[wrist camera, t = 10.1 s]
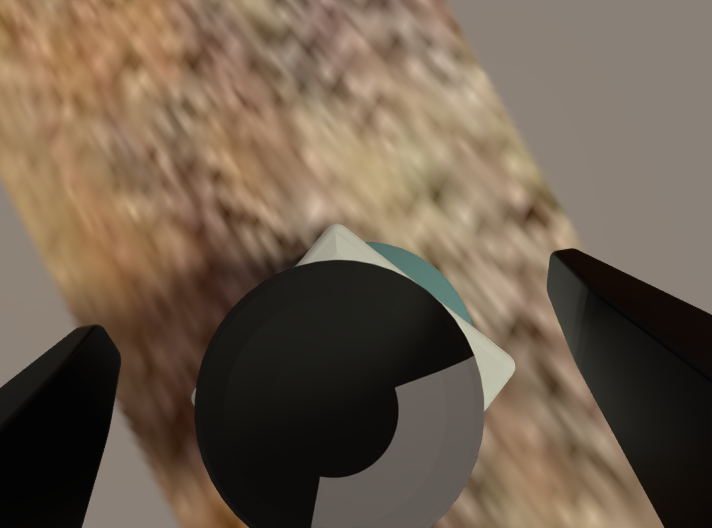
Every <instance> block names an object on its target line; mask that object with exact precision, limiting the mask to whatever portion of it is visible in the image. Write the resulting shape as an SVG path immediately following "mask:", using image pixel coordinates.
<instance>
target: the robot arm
mask: <svg viewBox="0 0 712 528" xmlns="http://www.w3.org/2000/svg"><path fill="white" fill-rule="evenodd" d="M547 292H548V296H549V298H550V301H551V303H552V306H553V308H554V311H555V313H556V316H557V319H558V321H559V324H560V326H561V329H562V331H563V334H564V336H565V339H566V341H567V344H568V346H569V349H570V351H571V354H572V356H573V358H574V361H575V363H576V365H577V367H578V369H579V371H580V373H581V375H582V376H583V378H584V380H585V382H586V384H587V386H588V387H589V389H590V391H591V393H592V395H593V397H594V398H595V400H596V402H597V404H598V406H599V408H600V410H601V411H602V413H603V415H604V417H605V419H606V421H607V422H608V424H609V426H610V428H611V430H612V432H613V434H614V435H615V437H616V439H617V441H618V443H619V445H620V446H621V448H622V450H623V452H624V454H625V456H626V458H627V459H628V461H629V463H630V465H631V467H632V469H633V470H634V472H635V474H636V476H637V478H638V480H639V482H640V483H641V485H642V487H643V489H644V491H645V493H646V494H647V496H648V498H649V500H650V502H651V504H652V506H653V507H654V509H655V511H656V513H657V515H658V517H659V518H660V520H661V522H662V524H663V526H664V528H712V315H711V314H709V313H707V312H705V311H703V310H701V309H699V308H697V307H695V306H693V305H691V304H689V303H687V302H684V301H682V300H680V299H678V298H676V297H674V296H672V295H670V294H668V293H666V292H664V291H662V290H659V289H658V288H656V287H653V286H651V285H649V284H647V283H645V282H643V281H641V280H638V279H637V278H635V277H633V276H631V275H628V274H626V273H624V272H622V271H620V270H618V269H616V268H614V267H612V266H610V265H608V264H606V263H604V262H602V261H600V260H597V259H596V258H594V257H591V256H589V255H587V254H585V253H583V252H581V251H579V250H577V249H574V248H570V249H564V250H558V251H554V252H553V253H552V254H551V256H550V261H549V269H548V278H547ZM120 366H121V356H120V353H119V351H118V349H117V348H116V346H115V344H114V343H113V341H112V340H111V338H110V337H109V335H108V334H107V332H106V331H105V329H104V328H103V327H102V326H100V325H89V326H83V327H79V328H76V329H75V330H74V331H72V332H71V333H70V334H68V335H67V336H66V337H65V338H63V339H62V340H61V341H60V342H58V343H57V344H56V345H55V346H53V347H52V348H51V349H49V350H48V351H47V352H45V353H44V354H43V355H42V356H40V357H39V358H38V359H37V360H35V361H34V362H33V363H31V364H30V365H29V366H28V367H26V368H25V369H24V370H22V371H21V372H20V373H19V374H18V375H16V376H15V377H14V378H12V379H11V380H10V381H8V382H7V383H6V384H5V385H3V386H2V387H1V388H0V528H82V525H83V522H84V518H85V515H86V511H87V508H88V504H89V501H90V497H91V494H92V490H93V487H94V483H95V480H96V476H97V473H98V469H99V466H100V462H101V459H102V455H103V452H104V448H105V445H106V441H107V437H108V433H109V429H110V424H111V419H112V413H113V407H114V401H115V395H116V389H117V384H118V378H119V372H120Z"/></svg>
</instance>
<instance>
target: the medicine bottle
mask: <svg viewBox="0 0 712 528" xmlns="http://www.w3.org/2000/svg"><path fill="white" fill-rule="evenodd" d="M514 370H515V363H514V360H513V359H512V358H511V357H510V355H508V354H507V353H506V352H504V351H503V350H502V349H501V348H499V347H498V346H497V345H495V344H494V343H493V342H492V341H490V340H489V339H488V338H486V337H485V336H484V335H483V334H481V333H480V332H479V331H478V330H476V329H475V328H474V327H472V326H471V325H470V324H469V323H467V322H466V321H465V320H463V319H462V318H461V317H460V316H458V315H457V314H456V313H455V312H453V311H452V310H451V309H449V308H448V307H447V306H446V305H444V304H443V303H442V302H440V301H439V300H438V299H437V298H435V297H434V296H433V295H432V294H431V293H429V292H428V291H427V290H426V289H424V288H423V287H421V286H420V285H419V284H417V283H416V282H415V281H414V280H412V279H411V278H410V277H408V276H407V275H406V274H405V273H403V272H402V271H401V270H399V269H398V268H397V267H396V266H394V265H393V264H392V263H391V262H389V261H388V260H387V259H385V258H384V257H383V256H382V255H380V254H379V253H378V252H376V251H375V250H374V249H373V248H371V247H370V246H369V245H367V244H366V243H365V242H364V241H362V240H361V239H360V238H359V237H357V236H356V235H355V234H353V233H352V232H351V231H350V230H348V229H347V228H346V227H344V226H343V225H340V224H332V225H331V226H329V227H328V228H327V229H326V230H325V231H324V233H323V234H322V235H321V236H320V237H319V239H318V240H317V241H316V242H315V244H314V245H313V246H312V247H311V248H310V250H309V251H308V252H307V253H306V254H305V256H304V257H303V258H302V259H301V261H300V262H299V263H298V264H297V265H296V267H293V268H291V269H288V270H286V271H283V272H281V273H278V274H277V275H275V276H273V277H271V278H269V279H268V280H266V281H264V282H262V283H261V284H260V285H258V286H257V287H256V288H254V289H253V290H252V291H250V292H249V293H248V294H246V295H245V296H244V297H243V298H242V299H241V300H240V301H239V302H238V303H237V304H236V305H235V306H234V307H233V308H232V309H231V311H230V312H229V313H228V315H227V316H226V317H225V318H224V320H223V321H222V322H221V324H220V325H219V327H218V329H217V330H216V332H215V334H214V336H213V337H212V339H211V341H210V343H209V346H208V348H207V350H206V353H205V355H204V358H203V360H202V364H201V368H200V371H199V375H198V379H197V386H196V388H195V390H194V391H193V394H192V396H191V397H192V403H193V404H194V406H195V426H196V434H197V441H198V445H199V448H200V452H201V456H202V459H203V462H204V465H205V467H206V469H207V472H208V474H209V476H210V479H211V481H212V482H213V484H214V486H215V487H216V489H217V491H218V492H219V494H220V496H221V497H222V499H223V500H224V501H225V503H226V504H227V505H228V506H229V508H230V509H231V510H232V511H233V512H234V514H235V515H236V516H237V517H238V518H239V519H240V520H242V521H243V522H244V523H245V524H246V525H247V526H248V527H249V528H431V527H432V526H433V525H434V524H435V523H436V522H437V521H438V520H439V519H440V518H441V517H442V516H444V514H445V513H446V512H447V511H448V509H449V508H450V507H451V506H452V505H453V503H454V502H455V501H456V500H457V498H458V497H459V495H460V493H461V492H462V490H463V488H464V487H465V485H466V483H467V481H468V480H469V477H470V475H471V473H472V470H473V468H474V465H475V463H476V460H477V457H478V453H479V449H480V445H481V441H482V436H483V427H484V418H485V415H484V411H485V410H486V409H487V407H488V406H489V405H490V403H491V402H492V401H493V399H494V398H495V397H496V395H497V394H498V393H499V391H500V390H501V389H502V387H503V386H504V385H505V384H506V382H507V381H508V380H509V378H510V377H511V376H512V374H513V372H514Z"/></svg>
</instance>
